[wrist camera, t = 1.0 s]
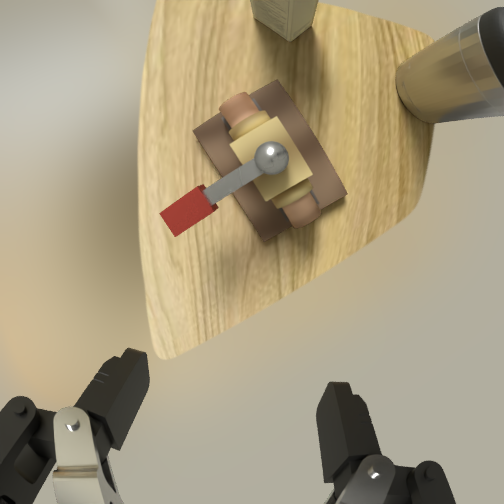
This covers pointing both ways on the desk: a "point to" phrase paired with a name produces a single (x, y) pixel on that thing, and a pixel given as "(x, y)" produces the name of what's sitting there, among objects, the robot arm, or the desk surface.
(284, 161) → the valve lever
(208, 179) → the desk surface
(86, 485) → the robot arm
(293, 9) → the skincare box
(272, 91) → the valve rig
